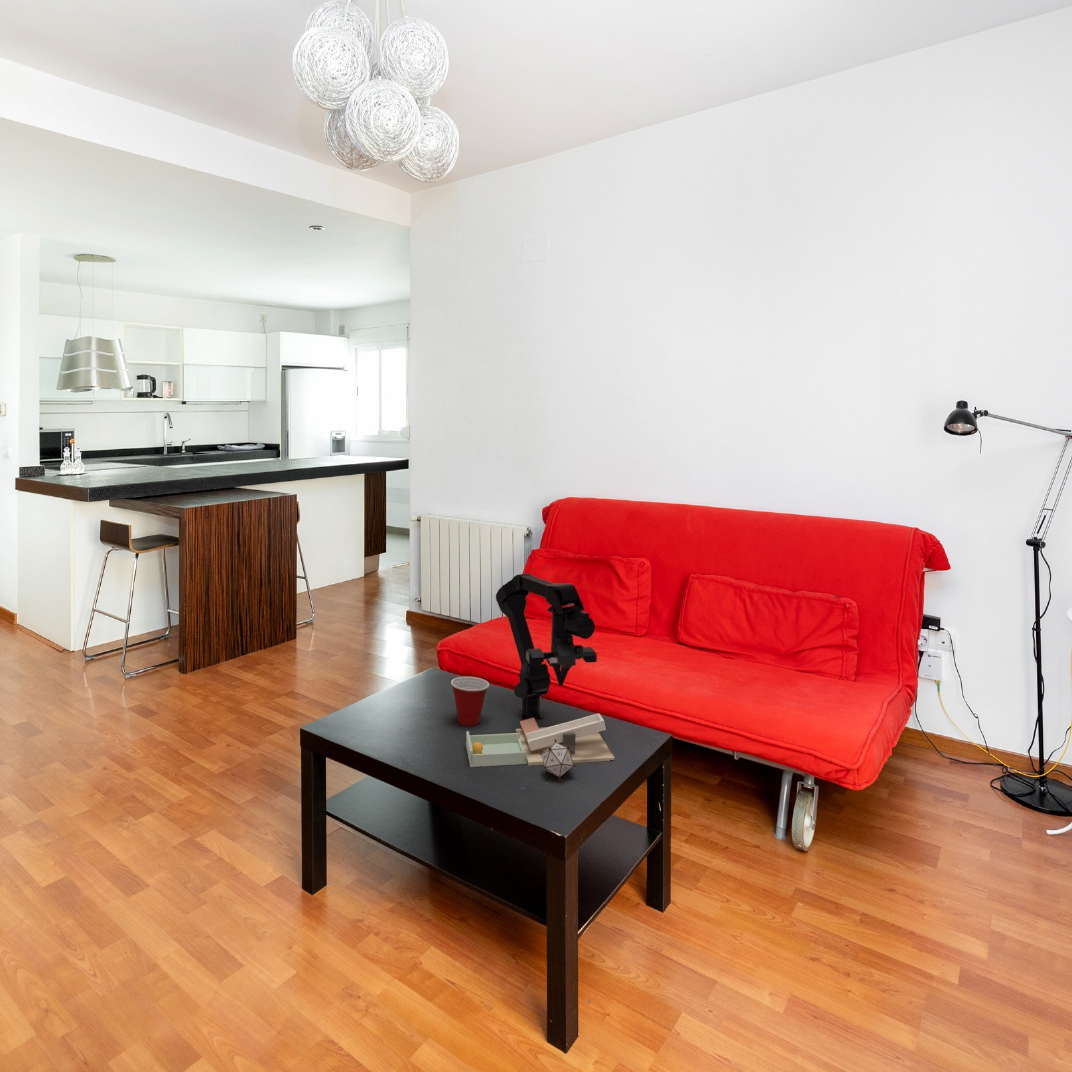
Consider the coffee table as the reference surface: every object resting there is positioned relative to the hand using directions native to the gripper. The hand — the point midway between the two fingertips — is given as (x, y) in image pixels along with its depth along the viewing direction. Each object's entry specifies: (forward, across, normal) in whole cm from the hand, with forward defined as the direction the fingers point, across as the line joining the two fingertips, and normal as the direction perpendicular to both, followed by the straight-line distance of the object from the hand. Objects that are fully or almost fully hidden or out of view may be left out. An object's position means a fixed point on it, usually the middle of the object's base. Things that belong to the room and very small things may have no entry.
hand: (560, 685), depth 199 cm
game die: (+13, -6, -26) cm, 30 cm away
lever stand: (+13, -1, -10) cm, 16 cm away
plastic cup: (+13, -24, +9) cm, 29 cm away
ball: (+11, -24, -13) cm, 29 cm away
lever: (+9, -1, -7) cm, 11 cm away
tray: (+13, -19, -13) cm, 27 cm away
